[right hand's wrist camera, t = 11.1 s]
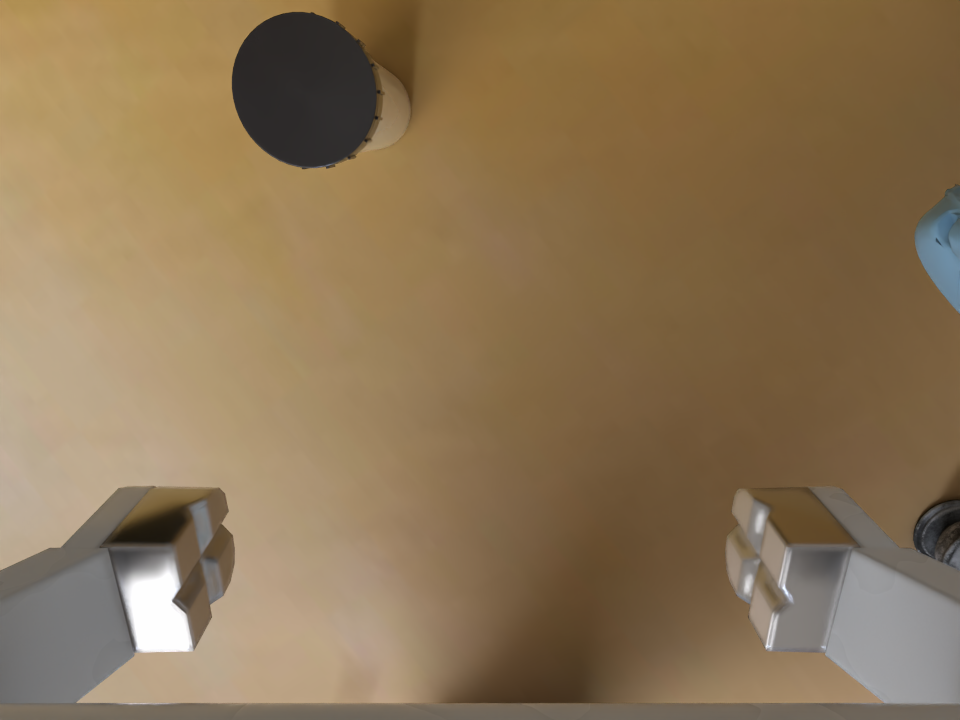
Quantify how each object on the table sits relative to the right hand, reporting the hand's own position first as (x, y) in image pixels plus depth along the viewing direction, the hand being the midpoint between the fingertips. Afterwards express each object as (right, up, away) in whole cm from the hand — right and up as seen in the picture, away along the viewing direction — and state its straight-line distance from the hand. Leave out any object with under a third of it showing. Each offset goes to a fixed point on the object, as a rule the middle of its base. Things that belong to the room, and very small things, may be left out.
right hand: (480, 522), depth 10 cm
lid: (-6, +12, +13) cm, 19 cm away
